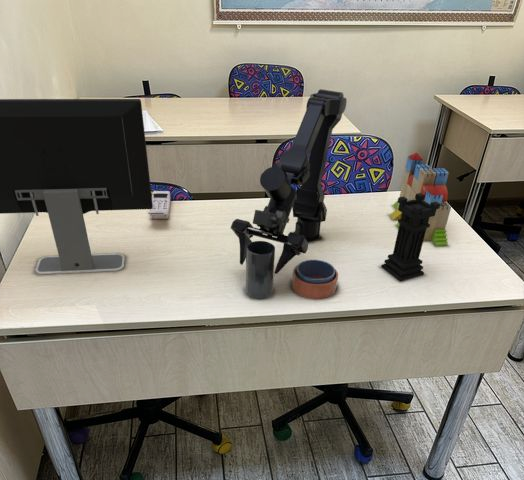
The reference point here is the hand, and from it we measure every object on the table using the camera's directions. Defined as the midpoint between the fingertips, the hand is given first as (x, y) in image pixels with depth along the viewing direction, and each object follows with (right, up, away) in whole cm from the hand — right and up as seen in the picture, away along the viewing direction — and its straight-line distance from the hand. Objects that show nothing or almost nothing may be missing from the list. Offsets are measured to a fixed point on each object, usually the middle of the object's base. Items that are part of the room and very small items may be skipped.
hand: (258, 269), depth 122 cm
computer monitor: (-47, +3, +12) cm, 49 cm away
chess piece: (+39, +2, +15) cm, 42 cm away
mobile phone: (-31, +24, +38) cm, 54 cm away
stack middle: (+14, -3, +8) cm, 17 cm away
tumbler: (0, -5, +5) cm, 7 cm away
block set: (+50, +20, +37) cm, 65 cm away
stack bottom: (+14, -3, +8) cm, 17 cm away
